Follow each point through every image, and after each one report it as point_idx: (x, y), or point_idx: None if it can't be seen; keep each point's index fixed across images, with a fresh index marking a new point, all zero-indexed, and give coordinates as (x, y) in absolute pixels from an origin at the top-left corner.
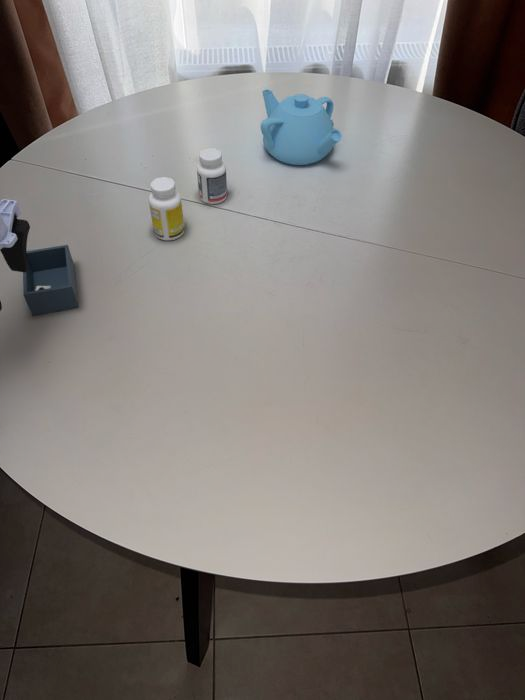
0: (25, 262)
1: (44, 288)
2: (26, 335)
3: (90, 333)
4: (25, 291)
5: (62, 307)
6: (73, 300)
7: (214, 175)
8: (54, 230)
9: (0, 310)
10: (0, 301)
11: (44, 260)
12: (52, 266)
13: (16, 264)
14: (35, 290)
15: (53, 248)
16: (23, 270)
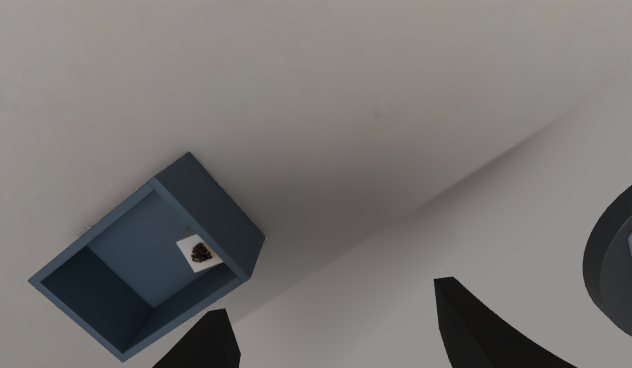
0: (196, 336)
1: (192, 250)
2: (322, 214)
3: (250, 69)
4: (237, 280)
5: (212, 184)
6: (183, 165)
7: None
8: (20, 338)
9: (446, 277)
10: (448, 298)
11: (111, 304)
12: (114, 280)
13: (221, 359)
14: (209, 266)
15: (63, 305)
16: (223, 320)
